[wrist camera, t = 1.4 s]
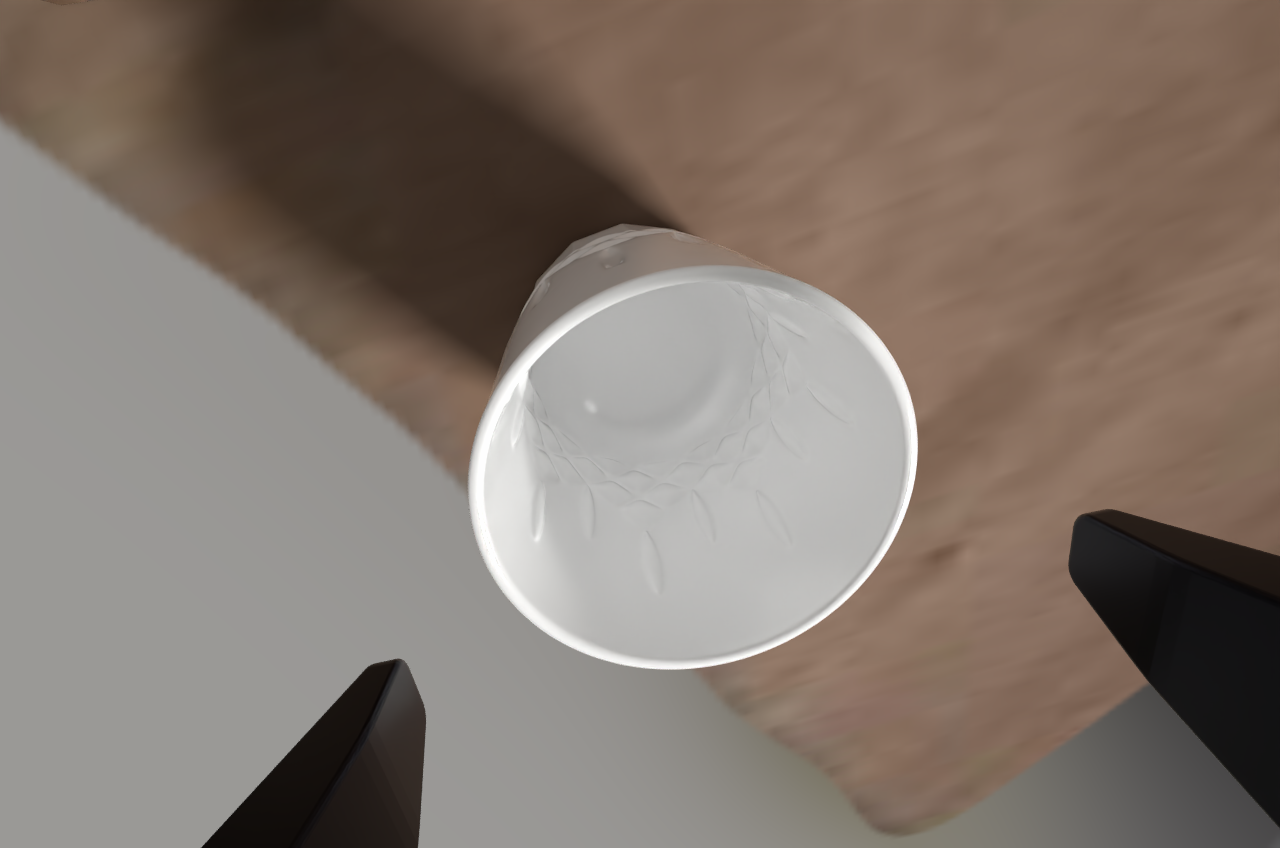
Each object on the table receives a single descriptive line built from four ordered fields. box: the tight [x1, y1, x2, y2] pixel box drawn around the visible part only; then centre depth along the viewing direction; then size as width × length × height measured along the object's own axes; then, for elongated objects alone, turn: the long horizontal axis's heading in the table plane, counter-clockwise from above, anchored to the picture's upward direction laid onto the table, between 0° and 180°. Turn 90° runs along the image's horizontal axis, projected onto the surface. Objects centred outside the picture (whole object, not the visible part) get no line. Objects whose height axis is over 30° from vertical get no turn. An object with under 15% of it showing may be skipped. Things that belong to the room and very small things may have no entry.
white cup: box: [468, 224, 918, 669], centre depth 16 cm, size 8×8×10 cm
